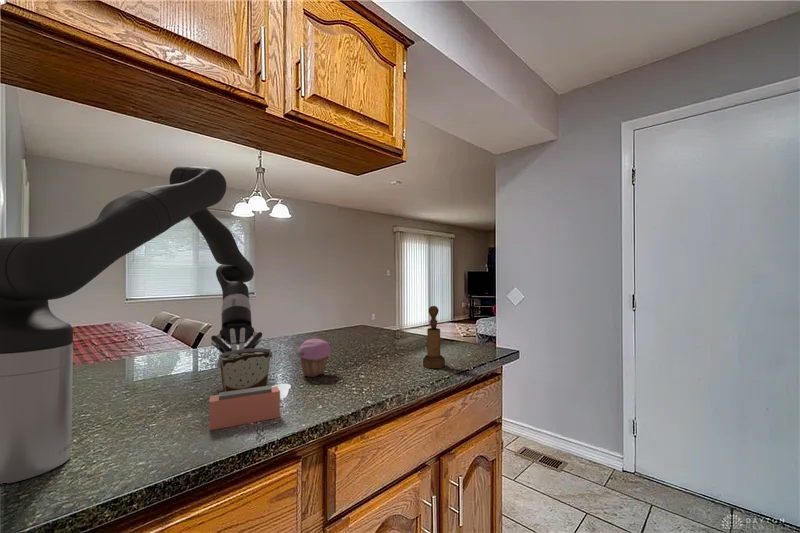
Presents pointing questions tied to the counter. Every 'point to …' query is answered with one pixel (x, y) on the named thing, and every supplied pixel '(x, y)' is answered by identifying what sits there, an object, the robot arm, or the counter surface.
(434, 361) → the brown tall knobbed column
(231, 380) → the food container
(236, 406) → the pink and grey block
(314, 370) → the cupcake
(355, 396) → the counter surface
